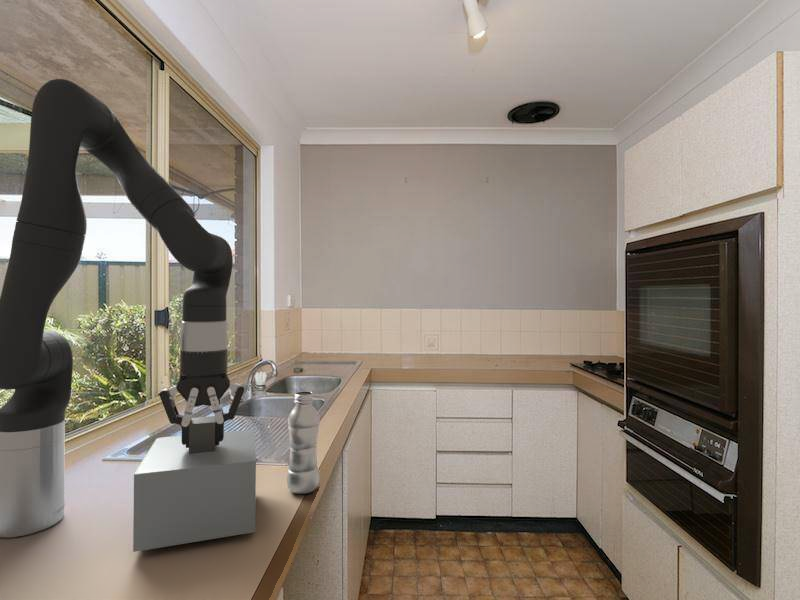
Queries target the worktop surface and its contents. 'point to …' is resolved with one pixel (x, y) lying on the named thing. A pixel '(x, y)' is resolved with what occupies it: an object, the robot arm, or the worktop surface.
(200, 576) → the worktop surface
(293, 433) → the plastic bottle
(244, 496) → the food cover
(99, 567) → the worktop surface
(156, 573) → the worktop surface
